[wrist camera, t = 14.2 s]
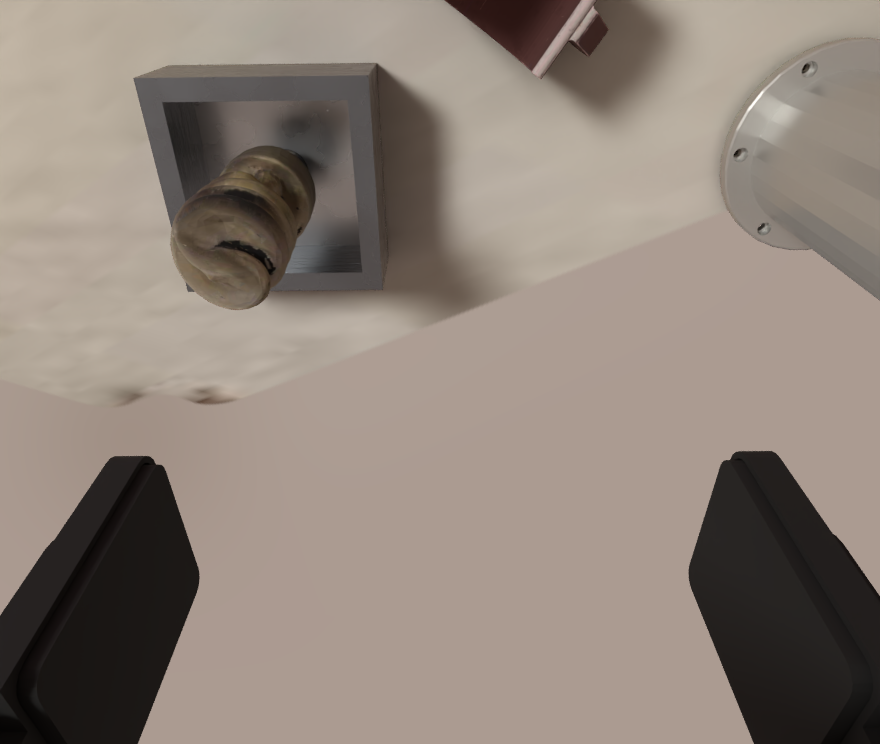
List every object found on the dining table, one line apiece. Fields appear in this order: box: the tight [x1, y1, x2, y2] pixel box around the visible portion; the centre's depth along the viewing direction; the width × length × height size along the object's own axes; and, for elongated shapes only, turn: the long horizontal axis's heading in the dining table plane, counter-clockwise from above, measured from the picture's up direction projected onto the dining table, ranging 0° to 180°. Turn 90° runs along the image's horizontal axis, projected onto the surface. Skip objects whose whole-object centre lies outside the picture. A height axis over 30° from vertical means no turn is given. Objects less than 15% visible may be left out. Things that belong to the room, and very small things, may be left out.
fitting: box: [134, 63, 388, 292], centre depth 38 cm, size 12×12×5 cm
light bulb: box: [170, 145, 316, 310], centre depth 34 cm, size 6×6×15 cm
